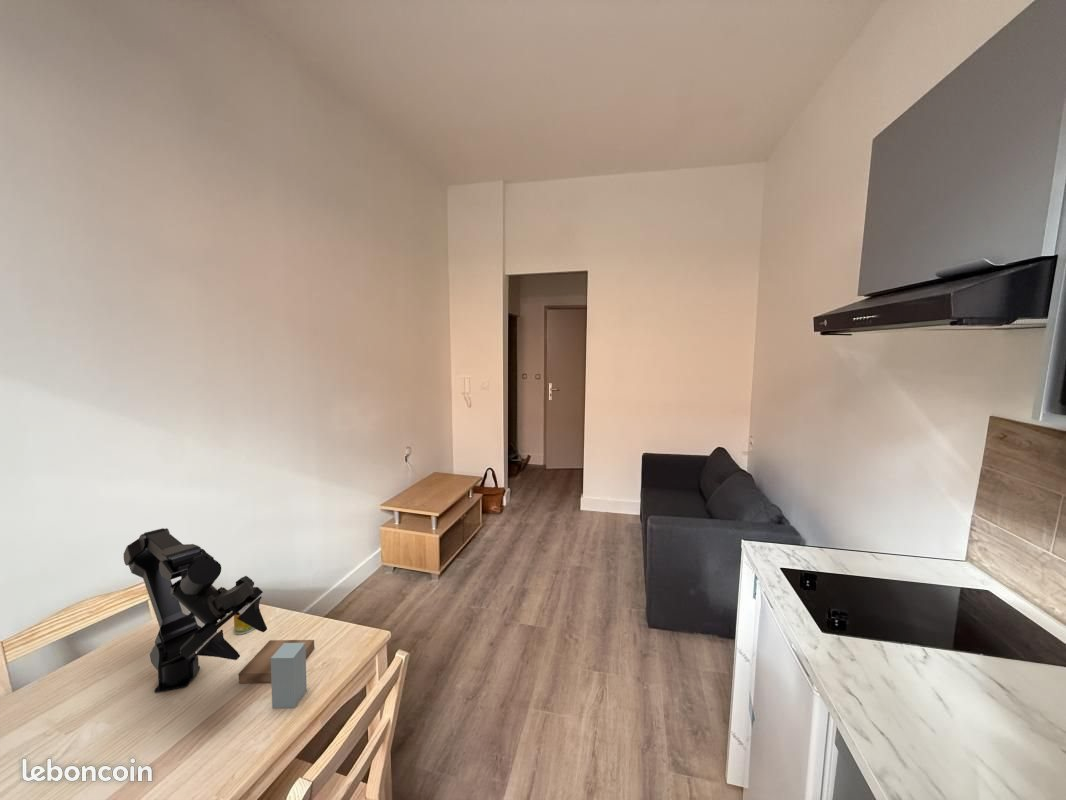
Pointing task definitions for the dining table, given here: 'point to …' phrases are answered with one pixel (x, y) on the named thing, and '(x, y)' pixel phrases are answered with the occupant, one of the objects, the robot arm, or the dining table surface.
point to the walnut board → (267, 661)
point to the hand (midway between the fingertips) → (252, 643)
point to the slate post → (288, 675)
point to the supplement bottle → (241, 626)
